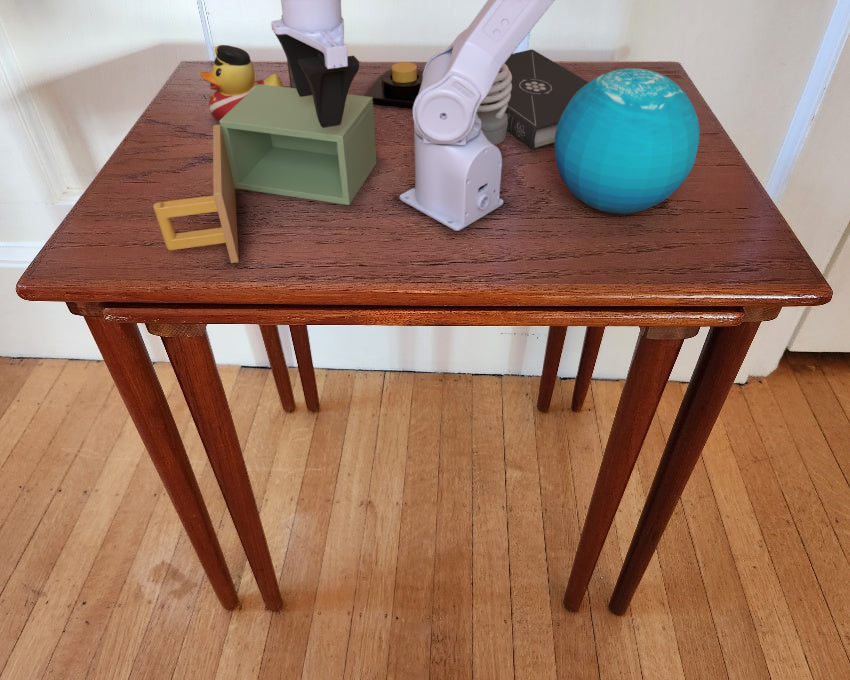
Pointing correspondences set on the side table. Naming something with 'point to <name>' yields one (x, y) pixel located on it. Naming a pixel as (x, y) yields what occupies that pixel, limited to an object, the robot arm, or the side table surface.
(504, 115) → the light bulb
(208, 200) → the cupboard door
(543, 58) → the book
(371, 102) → the cupboard
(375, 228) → the side table surface
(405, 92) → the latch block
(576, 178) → the decorative orb
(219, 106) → the toy
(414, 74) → the button
